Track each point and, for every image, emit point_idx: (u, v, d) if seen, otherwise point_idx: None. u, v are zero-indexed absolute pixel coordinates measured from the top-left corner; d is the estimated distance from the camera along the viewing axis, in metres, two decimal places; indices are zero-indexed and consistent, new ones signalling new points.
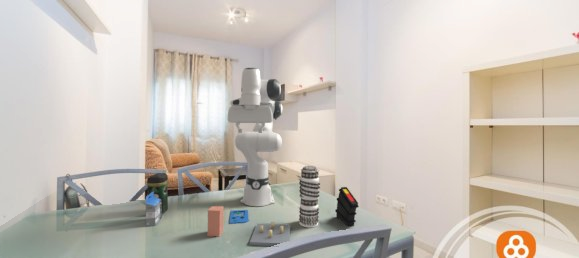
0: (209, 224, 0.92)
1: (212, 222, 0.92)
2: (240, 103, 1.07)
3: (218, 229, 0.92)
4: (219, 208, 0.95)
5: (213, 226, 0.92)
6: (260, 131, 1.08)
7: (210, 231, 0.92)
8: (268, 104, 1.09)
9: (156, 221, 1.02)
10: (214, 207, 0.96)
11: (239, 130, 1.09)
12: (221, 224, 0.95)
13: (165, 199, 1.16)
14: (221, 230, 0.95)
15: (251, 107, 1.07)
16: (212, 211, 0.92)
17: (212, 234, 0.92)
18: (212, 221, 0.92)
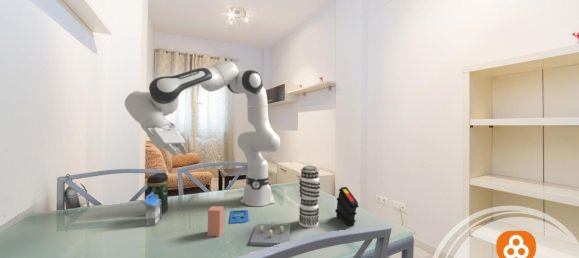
0: (209, 224, 0.92)
1: (212, 222, 0.92)
2: None
3: (218, 229, 0.92)
4: (219, 208, 0.95)
5: (213, 226, 0.92)
6: None
7: (210, 231, 0.92)
8: None
9: (156, 221, 1.02)
10: (214, 207, 0.96)
11: None
12: (221, 224, 0.95)
13: (165, 199, 1.16)
14: (221, 230, 0.95)
15: None
16: (212, 211, 0.92)
17: (212, 234, 0.92)
18: (212, 221, 0.92)
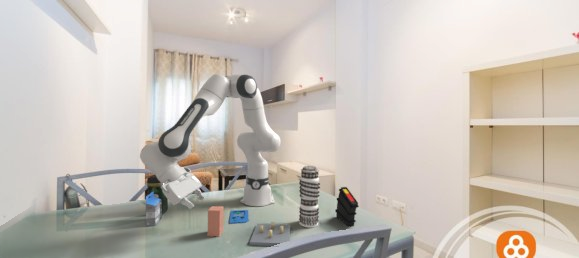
0: (209, 224, 0.92)
1: (212, 222, 0.92)
2: None
3: (218, 229, 0.92)
4: (219, 208, 0.95)
5: (213, 226, 0.92)
6: None
7: (210, 231, 0.92)
8: None
9: (156, 221, 1.02)
10: (214, 207, 0.96)
11: None
12: (221, 224, 0.95)
13: (165, 199, 1.16)
14: (221, 230, 0.95)
15: None
16: (212, 211, 0.92)
17: (212, 234, 0.92)
18: (212, 221, 0.92)
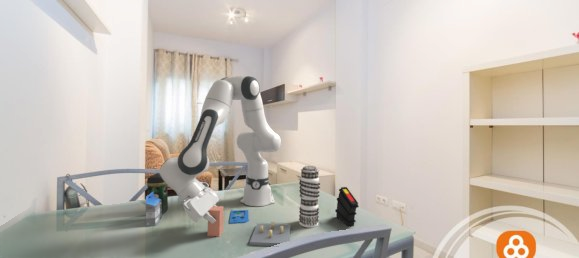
0: (209, 224, 0.92)
1: None
2: None
3: (218, 229, 0.92)
4: (219, 208, 0.95)
5: (213, 226, 0.92)
6: None
7: (210, 231, 0.92)
8: None
9: (156, 221, 1.02)
10: (214, 207, 0.96)
11: None
12: (221, 224, 0.95)
13: (165, 199, 1.16)
14: (221, 230, 0.95)
15: None
16: (212, 211, 0.92)
17: (212, 234, 0.92)
18: None
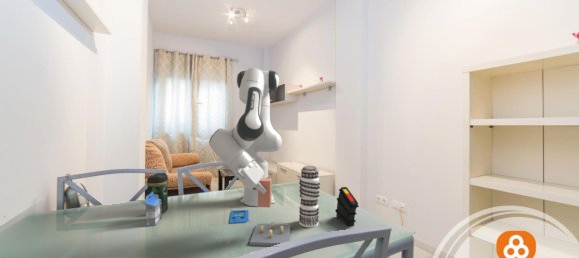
0: (259, 195, 0.91)
1: (262, 193, 0.91)
2: None
3: (269, 200, 0.91)
4: (268, 179, 0.94)
5: (263, 197, 0.91)
6: None
7: (260, 201, 0.92)
8: None
9: (156, 221, 1.02)
10: (263, 178, 0.95)
11: None
12: (270, 195, 0.94)
13: (165, 199, 1.16)
14: (270, 201, 0.94)
15: None
16: (262, 181, 0.91)
17: (262, 205, 0.91)
18: None
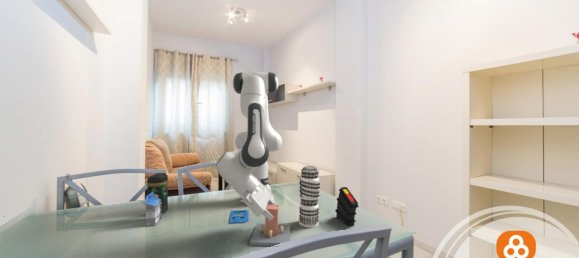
0: (267, 223, 0.92)
1: (270, 221, 0.92)
2: None
3: (276, 228, 0.92)
4: (275, 207, 0.94)
5: (271, 225, 0.92)
6: None
7: (267, 229, 0.92)
8: None
9: (156, 221, 1.02)
10: (270, 206, 0.95)
11: None
12: (277, 223, 0.94)
13: (165, 199, 1.16)
14: (277, 229, 0.94)
15: None
16: (270, 210, 0.92)
17: None
18: (270, 220, 0.92)
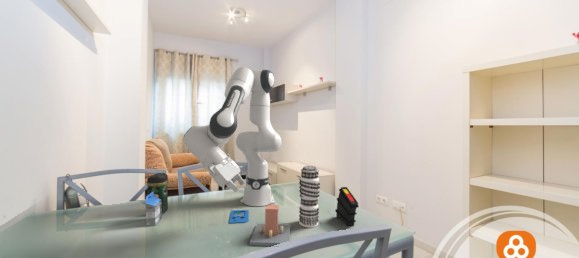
0: (267, 223, 0.92)
1: (270, 221, 0.92)
2: None
3: (276, 228, 0.92)
4: (275, 207, 0.94)
5: (271, 225, 0.92)
6: None
7: (267, 229, 0.92)
8: None
9: (156, 221, 1.02)
10: (270, 206, 0.95)
11: None
12: (277, 223, 0.94)
13: (165, 199, 1.16)
14: (277, 229, 0.94)
15: None
16: (270, 210, 0.92)
17: None
18: (270, 220, 0.92)
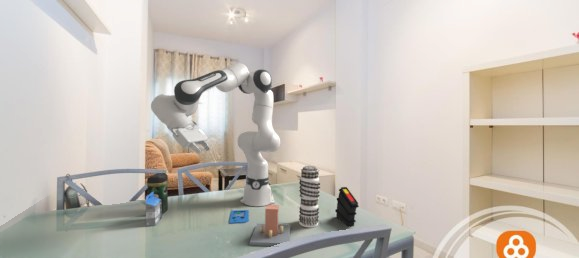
0: (267, 223, 0.92)
1: (270, 221, 0.92)
2: None
3: (276, 228, 0.92)
4: (275, 207, 0.94)
5: (271, 225, 0.92)
6: None
7: (267, 229, 0.92)
8: None
9: (156, 221, 1.02)
10: (270, 206, 0.95)
11: None
12: (277, 223, 0.94)
13: (165, 199, 1.16)
14: (277, 229, 0.94)
15: None
16: (270, 210, 0.92)
17: None
18: (270, 220, 0.92)
